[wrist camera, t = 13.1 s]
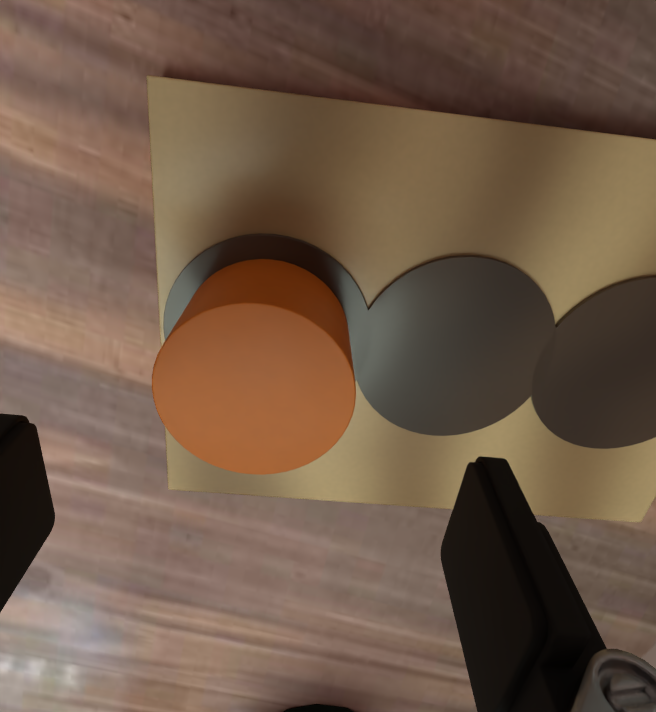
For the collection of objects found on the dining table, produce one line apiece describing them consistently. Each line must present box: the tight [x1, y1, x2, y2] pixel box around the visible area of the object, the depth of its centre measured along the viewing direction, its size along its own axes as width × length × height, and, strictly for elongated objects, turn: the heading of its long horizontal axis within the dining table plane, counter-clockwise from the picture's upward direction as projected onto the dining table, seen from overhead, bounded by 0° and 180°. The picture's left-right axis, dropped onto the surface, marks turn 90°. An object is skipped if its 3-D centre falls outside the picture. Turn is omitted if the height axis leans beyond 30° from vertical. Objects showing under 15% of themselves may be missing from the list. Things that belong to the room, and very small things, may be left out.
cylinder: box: [152, 259, 356, 475], centre depth 16 cm, size 6×6×4 cm
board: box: [147, 75, 656, 522], centre depth 19 cm, size 22×16×2 cm
